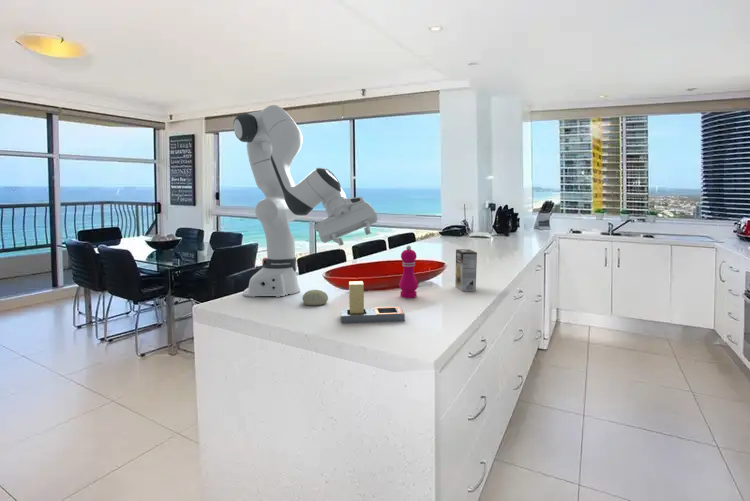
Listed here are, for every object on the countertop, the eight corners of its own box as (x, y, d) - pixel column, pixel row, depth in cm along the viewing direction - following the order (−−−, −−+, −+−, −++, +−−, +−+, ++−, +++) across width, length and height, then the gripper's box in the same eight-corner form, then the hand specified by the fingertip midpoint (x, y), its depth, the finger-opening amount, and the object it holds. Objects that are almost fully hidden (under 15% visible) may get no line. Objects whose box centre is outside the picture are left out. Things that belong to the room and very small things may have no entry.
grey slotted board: (341, 323, 136) (341, 315, 136) (340, 316, 144) (340, 308, 143) (404, 321, 138) (404, 313, 138) (400, 314, 146) (400, 306, 145)
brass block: (350, 321, 138) (349, 284, 136) (349, 317, 142) (349, 281, 141) (364, 321, 138) (363, 284, 137) (362, 317, 143) (362, 281, 141)
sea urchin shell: (323, 302, 154) (308, 285, 155) (309, 316, 157) (295, 300, 158) (334, 296, 163) (320, 280, 164) (321, 309, 165) (307, 294, 166)
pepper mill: (416, 298, 166) (417, 246, 163) (397, 298, 167) (398, 246, 165) (418, 294, 173) (419, 244, 170) (400, 293, 174) (400, 244, 172)
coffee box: (454, 286, 187) (455, 249, 184) (469, 286, 187) (470, 248, 185) (461, 291, 178) (462, 252, 176) (476, 290, 178) (477, 251, 176)
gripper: (310, 217, 144) (322, 244, 135) (366, 194, 147) (382, 219, 138) (314, 230, 149) (327, 257, 140) (369, 208, 152) (384, 233, 143)
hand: (354, 238), depth 139 cm, fingers open, 8 cm apart
